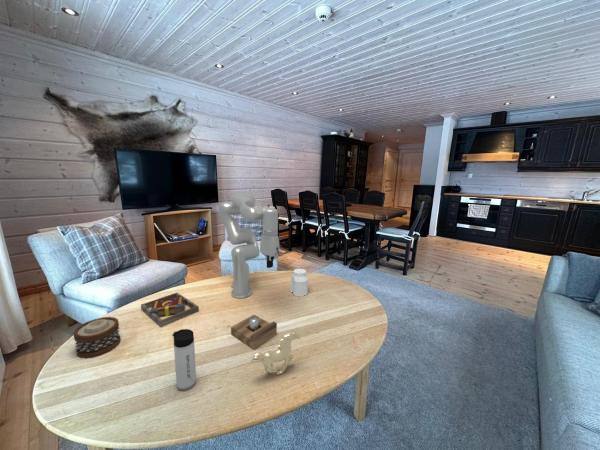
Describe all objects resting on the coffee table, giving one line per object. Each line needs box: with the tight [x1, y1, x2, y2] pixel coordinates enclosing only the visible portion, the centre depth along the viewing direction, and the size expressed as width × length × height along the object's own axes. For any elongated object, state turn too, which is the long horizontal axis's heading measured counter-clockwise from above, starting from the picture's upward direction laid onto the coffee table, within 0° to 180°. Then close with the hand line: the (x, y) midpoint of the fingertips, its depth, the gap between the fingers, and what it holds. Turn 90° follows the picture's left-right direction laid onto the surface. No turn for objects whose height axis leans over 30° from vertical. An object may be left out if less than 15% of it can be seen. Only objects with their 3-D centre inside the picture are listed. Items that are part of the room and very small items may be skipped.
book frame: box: [140, 292, 200, 328], centre depth 132 cm, size 24×19×3 cm
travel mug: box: [171, 328, 197, 392], centre depth 84 cm, size 6×7×20 cm
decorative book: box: [150, 296, 187, 318], centre depth 131 cm, size 11×16×5 cm
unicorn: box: [249, 326, 301, 376], centre depth 90 cm, size 20×4×17 cm, turn 119°
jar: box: [290, 268, 309, 297], centre depth 157 cm, size 12×10×15 cm
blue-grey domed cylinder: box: [250, 317, 258, 332], centre depth 113 cm, size 4×4×8 cm
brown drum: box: [73, 316, 122, 359], centre depth 102 cm, size 15×11×15 cm
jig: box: [230, 314, 278, 350], centre depth 113 cm, size 16×14×6 cm
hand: (269, 267), depth 126 cm, fingers closed
